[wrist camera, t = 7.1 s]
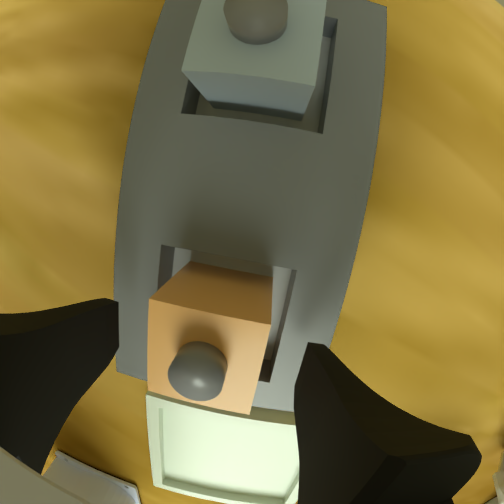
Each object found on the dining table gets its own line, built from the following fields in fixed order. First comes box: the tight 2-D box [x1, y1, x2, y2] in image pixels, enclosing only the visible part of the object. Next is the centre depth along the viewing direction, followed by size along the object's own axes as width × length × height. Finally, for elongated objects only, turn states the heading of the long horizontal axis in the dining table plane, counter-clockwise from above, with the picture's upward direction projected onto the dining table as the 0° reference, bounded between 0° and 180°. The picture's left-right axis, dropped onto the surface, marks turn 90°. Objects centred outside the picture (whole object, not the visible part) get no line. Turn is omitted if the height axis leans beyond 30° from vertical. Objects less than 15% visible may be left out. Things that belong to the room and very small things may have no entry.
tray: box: [146, 391, 299, 504], centre depth 17 cm, size 12×12×1 cm
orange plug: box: [147, 261, 273, 415], centre depth 12 cm, size 4×4×6 cm
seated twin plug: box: [181, 0, 327, 121], centre depth 9 cm, size 4×4×6 cm
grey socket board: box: [114, 0, 387, 412], centre depth 12 cm, size 10×20×2 cm, turn 170°
